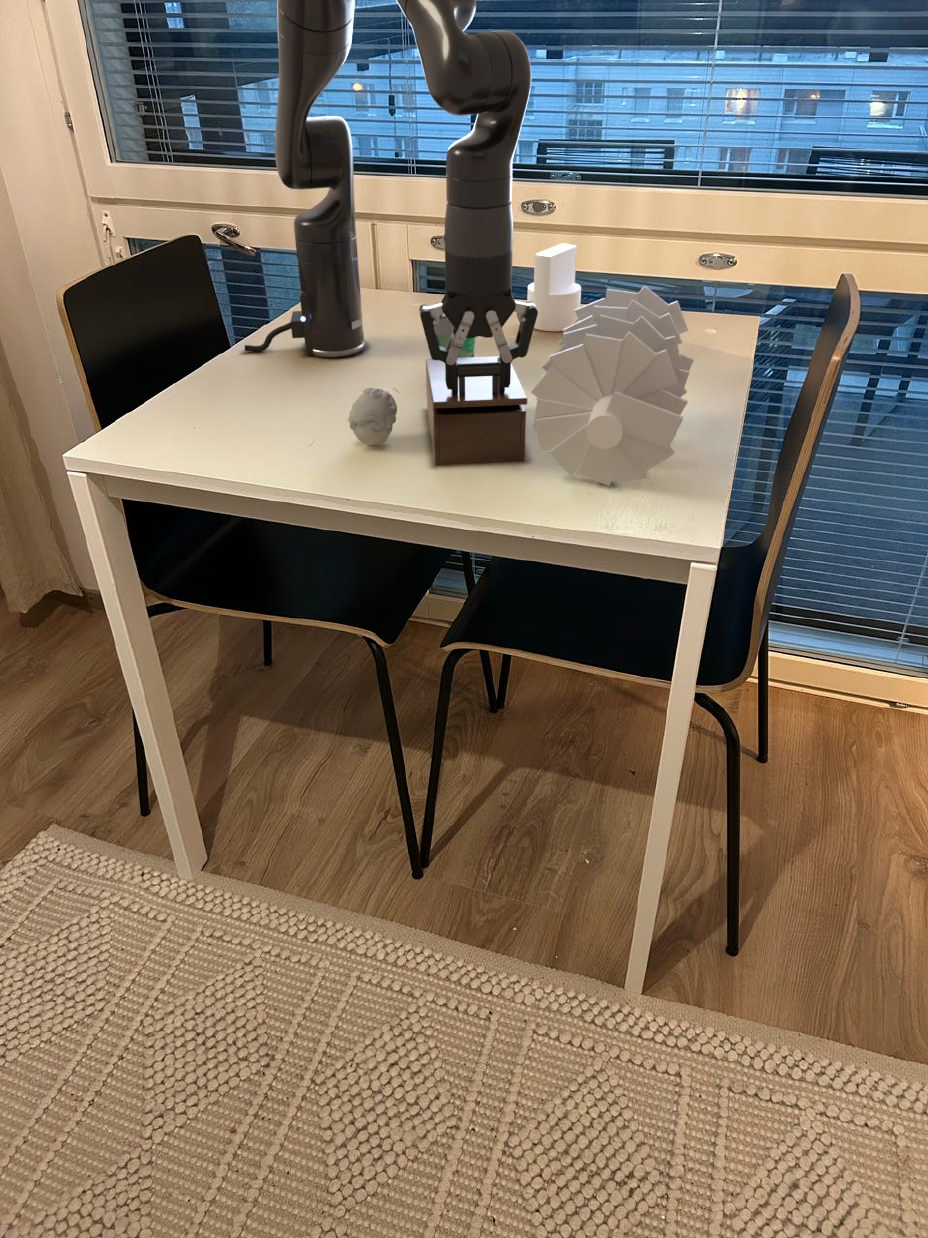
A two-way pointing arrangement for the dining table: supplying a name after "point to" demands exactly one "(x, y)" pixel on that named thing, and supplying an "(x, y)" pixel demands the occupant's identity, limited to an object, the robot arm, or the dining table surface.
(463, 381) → the chest lid
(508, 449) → the chest
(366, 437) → the grey rounded lumpy piece
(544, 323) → the base with upright slab
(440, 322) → the food container
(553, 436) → the spiral staircase
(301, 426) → the dining table surface
